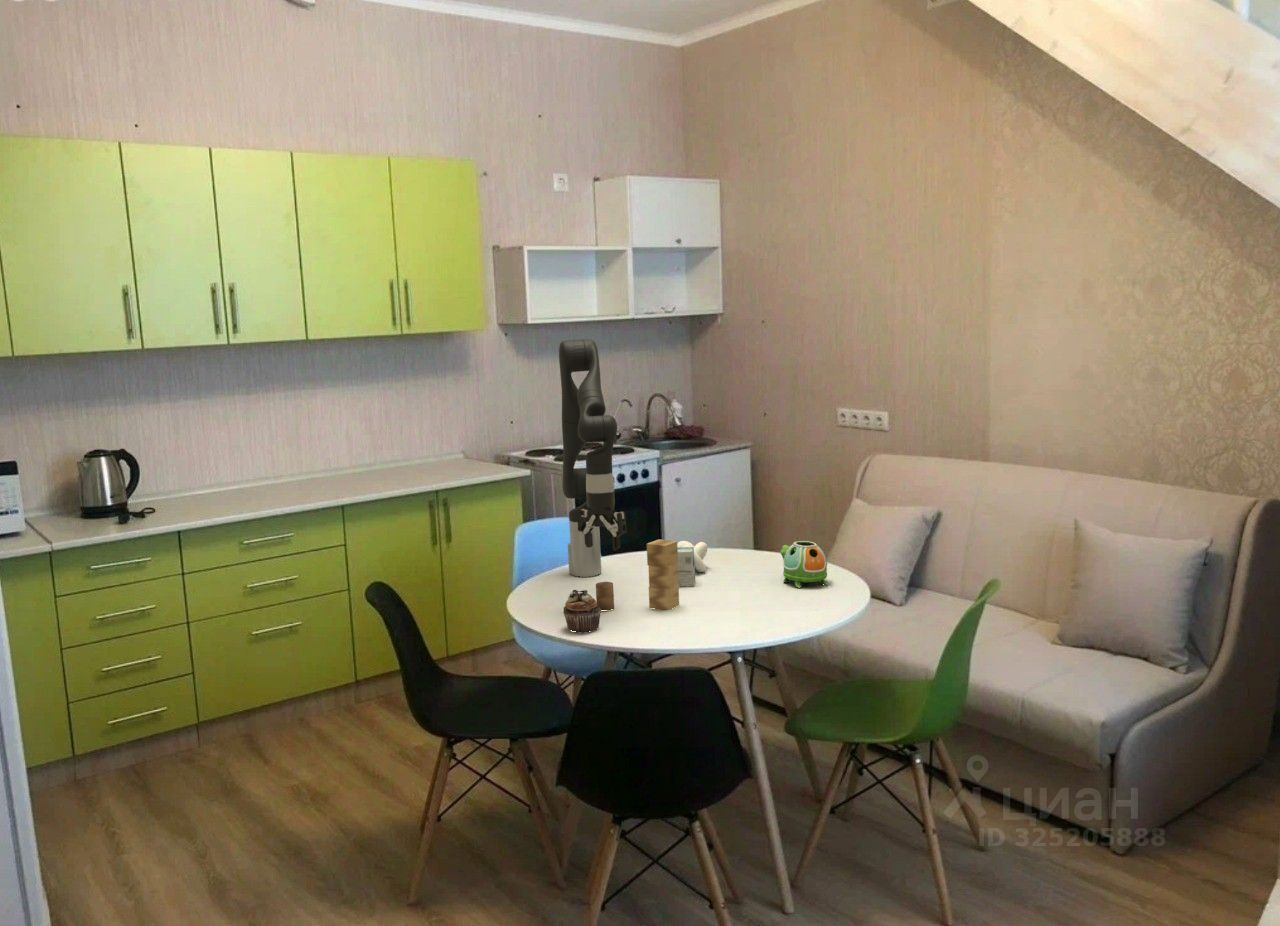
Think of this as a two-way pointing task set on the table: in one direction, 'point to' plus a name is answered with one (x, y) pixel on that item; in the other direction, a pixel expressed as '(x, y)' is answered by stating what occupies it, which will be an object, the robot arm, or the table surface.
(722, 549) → the table surface
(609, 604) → the walnut cylinder
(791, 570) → the turtle holder
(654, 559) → the tower top
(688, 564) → the light bulb box
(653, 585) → the tower mid
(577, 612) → the cupcake
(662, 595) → the tower base
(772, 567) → the table surface
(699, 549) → the white knot sculpture
